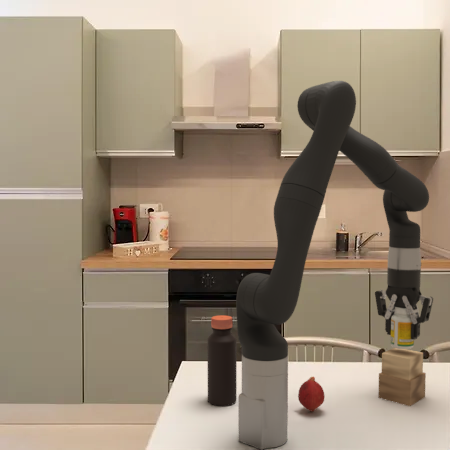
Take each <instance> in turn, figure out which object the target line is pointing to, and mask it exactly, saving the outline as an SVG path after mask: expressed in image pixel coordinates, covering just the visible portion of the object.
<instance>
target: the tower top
mask: <svg viewBox="0 0 450 450" xmlns="http://www.w3.org/2000/svg"><path fill="white" fill-rule="evenodd" d="M423 367H424V352H421V351H416V350H412V349H398V348H394V347H392V348H390V349H389V350H387V351H383V352H382V353H381V372H382V374H385V375H389V376H393V377H397V378H401V379H405V380H411V379H413V378H415V377H417V376H419V375H420V374H422V373H423V372H424V370H423V369H424V368H423Z"/></svg>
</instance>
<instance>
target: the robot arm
mask: <svg viewBox="0 0 450 450" xmlns="http://www.w3.org/2000/svg"><path fill="white" fill-rule="evenodd" d="M296 106H297V112H298V115H299V118H300V119H301V121H302V122H303V124H305V125H306V126H307V127H308V128H309V129H311V130H312V131H313V132H312V135H311V137H310V138H309V141H308V142H307V143H306V145H305V147H304V148H303V150H301V151H302V152H300V154H299V155H298V156H297V157H296V159H295V160H294V161H293V163H292V164H291V165H290V167H289V168H288V169H287V171H286V173H285V174H284V176H283V178H282V180H281V183H280V186H279V189H278V192H277V196H276V198H275V202H274V205H273V221H274V227H275V232H276V239H277V249H276V254H275V255H276V256H275V259H274V262H273V265H272V269H271V271H270V274H267V273H261V272H252V273H250V274H247V275H246V276H244V277H243V278H242V280H241V282H240V283H239V284H238V285H239V286H238V288H237V292H236V299H235V300H236V301H235V302H236V303H235V305H236V306H235V307H236V308H235V309H236V310H235V311H236V331H237V339H238V341H239V344H240V347H241V393H239V394H238V441H239V442H241V443H243V444H245V445H249V446H251V447H254V448H256V449H259V450H265V449H269V448H276V447H280V446H282V445H284V444H285V443H286V442H287V441H288V424H289V423H288V422H289V421H288V418H289V416H288V412H289V410H288V409H289V408H288V407H289V406H288V404H289V403H288V402H289V401H288V399H289V395H288V394H289V393H288V392H289V391H288V390H289V387H288V386H289V377H288V376H289V343H288V341H287V339H286V338H285V337H284V336H283V335H282V334H281V333H280V332H279V331H278V328H277V327H276V326H278V325H283V324H285V323H286V322H287V321H288V320H290V318H291V317H292V316H293V314H294V312H295V309H296V306H297V304H298V300H299V296H300V291H301V287H302V282H303V281H302V280H303V278H304V277H303V276H304V272H305V271H304V270H305V266H306V261H307V257H308V254H309V249H310V247H311V242H312V238H313V236H314V230H315V228H316V224H317V221H318V219H319V217H320V214H321V210H322V206H323V204H324V201H325V200H324V199H325V196H326V193H327V188H328V185H329V184H330V183H329V182H330V179H331V176H332V173H333V170H334V167H335V165H336V164H335V163H336V162H337V158H338V155H339V153H340V152H341V154H343V155H344V156H345V157H346V158H347V159H349V160H350V162H352V163H353V164H354V165H355V166H356V167H357V168H358V169H359V170H360V171H361V173H363V174H364V176H365V177H366V178H367V179H368V180H369V181H370V182H371V183H372V185H374V186H375V187H376V188H377V189H379V190H382V191H383V195H382V204H383V209H384V213H385V218H386V221H387V225H388V229H389V234H388V235H389V237H388V239H389V241H388V252H387V272H386V273H387V274H386V278H387V279H386V280H387V281H386V284H387V287H386V289H385V290H383V289H380V290H376V291H375V292H374V296H375V303H376V310H377V314H378V316H381V317H382V318H384V319H385V327H384V328H385V329H384V330H385V333H386V334H387V335H388V336H391V317H392V315H394V314H395V311H394V309H395V307H400V308H406V309H407V312H408V314H409V315H410V317H411V320H412V324H411V339H413V340H414V341H415V340H417V339H418V337H420V335H421V324H423V323H425V322H428V321H429V320H430V316H431V312H432V307H433V303H434V298H433V296H426V295H424V294H422V292H421V289H420V288H421V274H422V273H421V272H422V269H421V268H422V254H421V226H420V225H419V223H417V222H414V221H412V220H410V219H409V215H408V213H409V212H410V213H417V212H422V211H423V210H425V208H426V207H427V206H428V204H429V200H430V193H429V190H428V187H427V186H426V185H425V183H424V182H423V181H422V179H420V178H419V177H417V176H415V174H413V173H411V172H410V171H408V170H407V169H405V168H403V167H402V166H400V164H399V163H398V162H397V161H396V159H394V157H393V156H392V155H391V154H390V153H389V152H388V151H387V149H385V148H384V147H383V146H382V145H381V144H379V143H378V142H376V141H375V140H374V139H371V138H370V137H368V136H366V135H365V134H363V133H361V132H359V131H358V130H356V129H355V128H353V127H352V126H351V124H352V122H353V119H354V116H355V112H356V107H357V96H356V93H355V90H354V88H353V86H352V85H351V84H350V83H349V82H346V81H344V80H334V81H333V80H332V81H329V82H325V83H320V84H317V85H316V84H315V85H313V86H310V87H307V88H306V89H304V90H303V91H302V92H301V94H300V95H299V97H298V101H297V105H296ZM407 212H408V213H407ZM386 299H388V300H389V304H388V306H387V304H386ZM419 302H420V304H421V305H422V307H421V311H420V308H419V306H418V303H419Z"/></svg>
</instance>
